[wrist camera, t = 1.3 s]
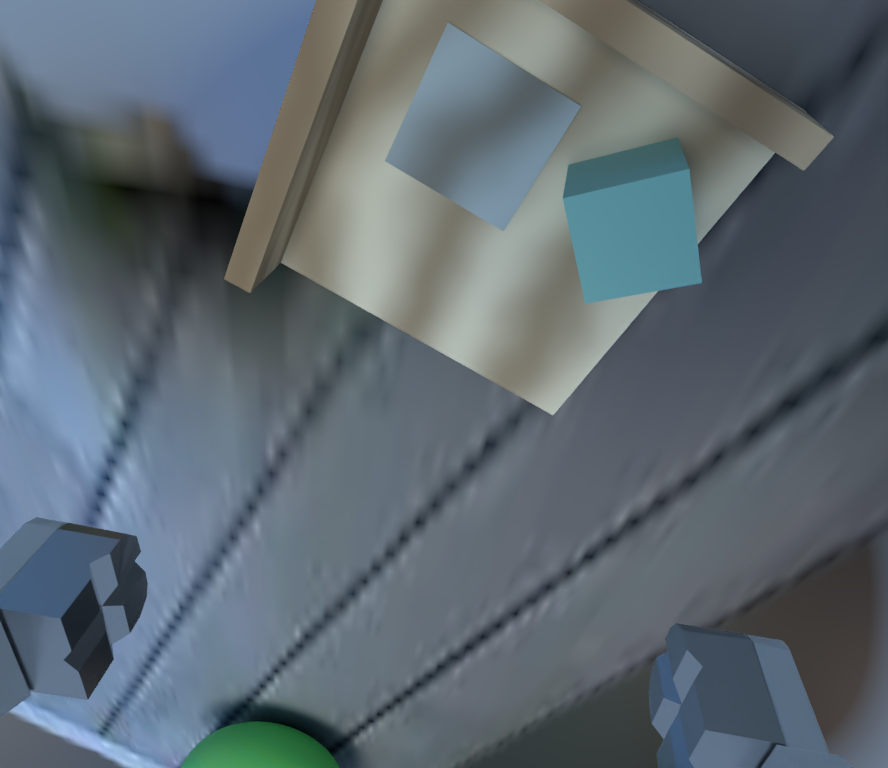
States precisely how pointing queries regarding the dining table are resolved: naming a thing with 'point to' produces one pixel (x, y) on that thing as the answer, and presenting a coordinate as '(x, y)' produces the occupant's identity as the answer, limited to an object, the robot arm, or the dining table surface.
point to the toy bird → (259, 748)
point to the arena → (492, 166)
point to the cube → (633, 222)
